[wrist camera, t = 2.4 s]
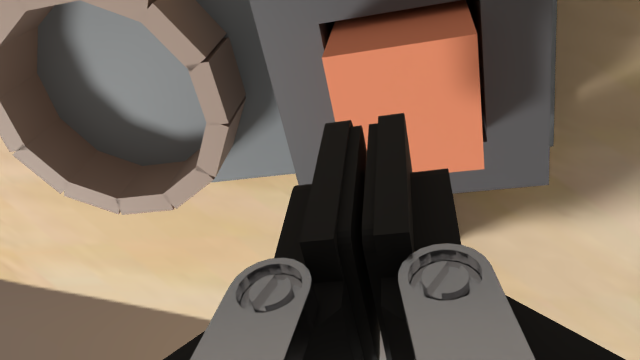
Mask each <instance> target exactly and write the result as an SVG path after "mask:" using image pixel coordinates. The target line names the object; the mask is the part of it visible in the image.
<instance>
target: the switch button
mask: <svg viewBox="0 0 640 360" xmlns="http://www.w3.org/2000/svg"><path fill="white" fill-rule="evenodd" d="M322 61H323V66H324V71H325V75H326V80H327V85H328V90H329V94H330V99H331V104H332V109H333V113H334V118H335V122H340V121H347V120H351V121H352V124H353V126H360V125H361V126H362V128H363V133H364V138H365V143H366V149H367V144H368V130H369V124H375V123H378V116H384V115H391V114H398V113H404V114H405V121H406V128H407V135H408V143H409V150H410V157H411V165H412V172H419V171H428V170H437V169H446V168H448V170H449V173H450V172H460V171H470V170H480V169H484V151H483V132H482V113H481V94H480V76H479V57H478V38H477V32H476V29H475V26H474V23H473V20H472V17H471V14H470V11H469V8H468V5H467V2H466V0H459V1H453V2H447V3H441V4H435V5H429V6H423V7H417V8H411V9H405V10H399V11H393V12H387V13H381V14H375V15H369V16H363V17H357V18H351V19H345V20H339V21H335V23H334V26H333V28H332V31H331V34H330V37H329V39H328V42H327V45H326V48H325V50H324V53H323V56H322Z"/></svg>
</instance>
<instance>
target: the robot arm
mask: <svg viewBox="0 0 640 360" xmlns="http://www.w3.org/2000/svg"><path fill="white" fill-rule="evenodd" d="M380 331H381V336H382V341H383V345H384V350H385V355H386V360H625V359H623V358H622V357H620V356H618V355H616V354H614V353H612V352H610V351H609V350H607V349H605V348H603V347H601V346H599V345H597V344H596V343H594V342H592V341H590V340H588V339H586V338H584V337H583V336H581V335H579V334H577V333H575V332H573V331H571V330H569V329H568V328H566V327H564V326H562V325H560V324H558V323H556V322H555V321H553V320H551V319H549V318H547V317H545V316H543V315H542V314H540V313H538V312H536V311H534V310H532V309H530V308H529V307H527V306H525V305H523V304H521V303H519V302H517V301H515V300H514V299H512V298H510V297H508V296H506V295H505V294H504V291H503V289H502V287H501V285H500V283H499V281H498V279H497V276H496V274H495V272H494V270H493V268H492V266H491V264H490V263H489V262H488V260H487V259H486V257H485V256H483V255H482V254H480V253H479V252H478V251H476V250H475V249H472V248H469V247H466V246H463V245H461V241H460V235H459V229H458V223H457V217H456V211H455V205H454V199H453V194H452V188H451V182H450V176H449V170H448V168H446V169H437V170H428V171H419V172H412V165H411V157H410V150H409V143H408V135H407V128H406V121H405V114H404V113H398V114H391V115H384V116H378V123H375V124H369V130H368V144H367V149H366V143H365V138H364V133H363V128H362V126H361V125H360V126H353V124H352V121H351V120H347V121H340V122H332V123H325V126H324V130H323V135H322V140H321V144H320V149H319V153H318V158H317V163H316V167H315V172H314V176H313V181H312V184H305V185H297V186H294V188H293V190H292V194H291V197H290V201H289V205H288V208H287V212H286V216H285V220H284V223H283V227H282V231H281V235H280V238H279V242H278V246H277V250H276V253H275V257H274V258H273V259H268V260H264V261H261V262H258V263H256V264H254V265H252V266H250V267H248V268H246V269H245V270H244V271H243V272H241V273H240V274H239V275H238V276H237V277H236V278H235V279H234V281H233V282H232V283H231V285H230V286H229V288H228V290H227V292H226V294H225V296H224V297H223V299H222V301H221V303H220V305H219V307H218V309H217V310H216V312H215V314H214V316H213V318H212V320H211V322H210V323H209V325H208V327H207V329H206V331H204V332H203V333H201V334H200V335H198V336H197V337H195V338H194V339H193V340H191V341H190V342H188V343H187V344H185V345H184V346H182V347H181V348H180V349H178V350H176V351H175V352H174V353H172V354H171V355H169V356H168V357H166V358H165V359H163V360H380Z"/></svg>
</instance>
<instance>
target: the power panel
mask: <svg viewBox="0 0 640 360" xmlns="http://www.w3.org/2000/svg"><path fill="white" fill-rule="evenodd" d="M453 1H459V0H0V136H1V138H2V140H3V141H4V143H5V145H6V147H7V148H8V150H9V152H12V151H16V152H15V153H14V154H13V156H14V157H15V158H17V159H18V160H19V161H20V162H22V163H23V164H24V165H25V166H27V167H28V168H29V169H30V170H31V171H33V172H34V173H35V174H36V175H38V176H39V177H40V178H41V179H43V180H44V181H45V182H46V183H48V184H49V185H50V186H51V187H53V188H54V189H55V190H56V191H57V192H59V193H60V194H61V193H62V192H63V191H64V196H66V197H69V198H72V199H75V200H78V201H81V202H84V203H87V204H90V205H93V206H95V207H98V208H101V209H104V210H107V211H110V212H113V213H116V214H119V213H120V212H121V213H122V215H125V214H136V213H146V212H157V211H167V210H173V209H174V208H176V209H177V208H178V207H179V206H181V205H182V204H183V203H184V202H186V201H187V200H188V199H190V198H191V197H192V196H194V195H195V194H196V193H197V192H199V191H200V190H201V189H203V188H204V187H205V186H207V185H208V184H209V183H210V182H219V181H229V180H238V179H247V178H257V177H266V176H276V175H285V174H295V173H296V177H297V180H298V184H299V185H305V184H312V181H313V176H314V172H315V167H316V163H317V158H318V153H319V149H320V144H321V140H322V135H323V130H324V126H325V123H332V122H335V118H334V113H333V109H332V104H331V99H330V94H329V90H328V85H327V80H326V75H325V71H324V66H323V61H322V56H323V53H324V50H325V48H326V45H327V42H328V39H329V37H330V34H331V31H332V28H333V26H334V23H335V21H339V20H345V19H351V18H357V17H363V16H369V15H375V14H381V13H387V12H393V11H399V10H405V9H411V8H417V7H423V6H429V5H435V4H441V3H447V2H453ZM466 2H467V5H468V8H469V11H470V14H471V17H472V20H473V23H474V26H475V29H476V32H477V38H478V57H479V76H480V94H481V113H482V132H483V151H484V169H480V170H470V171H460V172H450V173H449V176H450V182H451V188H452V194H453V193H464V192H475V191H486V190H497V189H508V188H519V187H530V186H541V185H549V154H550V147H551V146H553V143H554V102H555V61H556V20H557V0H466Z"/></svg>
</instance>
